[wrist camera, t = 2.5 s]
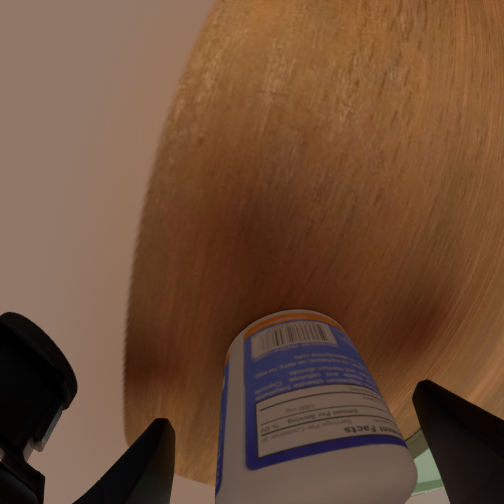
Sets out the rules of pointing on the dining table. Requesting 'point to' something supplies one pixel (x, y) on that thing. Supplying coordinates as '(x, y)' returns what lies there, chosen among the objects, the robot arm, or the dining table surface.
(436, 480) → the tray
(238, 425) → the pill bottle
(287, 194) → the dining table surface
